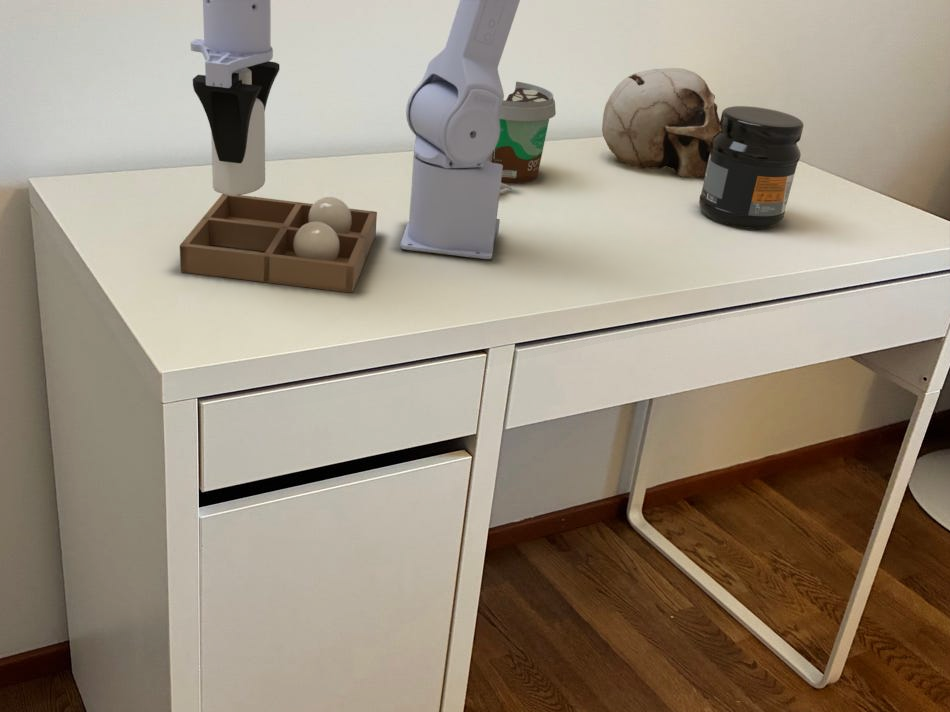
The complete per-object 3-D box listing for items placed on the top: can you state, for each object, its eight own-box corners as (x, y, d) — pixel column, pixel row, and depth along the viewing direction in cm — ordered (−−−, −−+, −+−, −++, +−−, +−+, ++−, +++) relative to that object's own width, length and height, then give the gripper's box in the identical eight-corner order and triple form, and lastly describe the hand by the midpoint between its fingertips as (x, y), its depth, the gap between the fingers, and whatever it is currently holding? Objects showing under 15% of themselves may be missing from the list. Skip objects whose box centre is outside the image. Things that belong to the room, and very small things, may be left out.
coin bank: (749, 170, 154) (764, 69, 146) (672, 201, 144) (683, 95, 136) (659, 144, 163) (669, 48, 155) (581, 171, 153) (587, 70, 145)
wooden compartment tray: (375, 235, 117) (377, 211, 115) (352, 293, 103) (353, 266, 102) (223, 217, 117) (223, 192, 115) (180, 272, 103) (179, 245, 102)
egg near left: (354, 236, 115) (356, 194, 112) (347, 250, 111) (349, 207, 109) (311, 231, 115) (312, 188, 112) (303, 245, 111) (304, 202, 109)
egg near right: (342, 262, 108) (344, 218, 106) (335, 278, 105) (336, 233, 102) (297, 256, 108) (298, 212, 106) (288, 272, 105) (289, 227, 102)
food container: (538, 193, 135) (550, 108, 130) (489, 184, 136) (498, 100, 131) (553, 167, 146) (564, 87, 140) (507, 159, 146) (516, 80, 141)
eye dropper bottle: (202, 183, 104) (197, 48, 98) (257, 179, 107) (256, 47, 101) (220, 198, 101) (216, 60, 95) (277, 193, 104) (277, 58, 98)
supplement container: (799, 230, 134) (827, 128, 128) (727, 233, 130) (751, 128, 124) (750, 201, 142) (774, 104, 135) (680, 203, 138) (701, 103, 131)
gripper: (211, -26, 101) (215, 126, 108) (165, -1, 89) (173, 168, 96) (288, -16, 101) (287, 135, 109) (253, 9, 89) (254, 178, 96)
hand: (239, 151), depth 102 cm, fingers closed on eye dropper bottle, 5 cm apart
